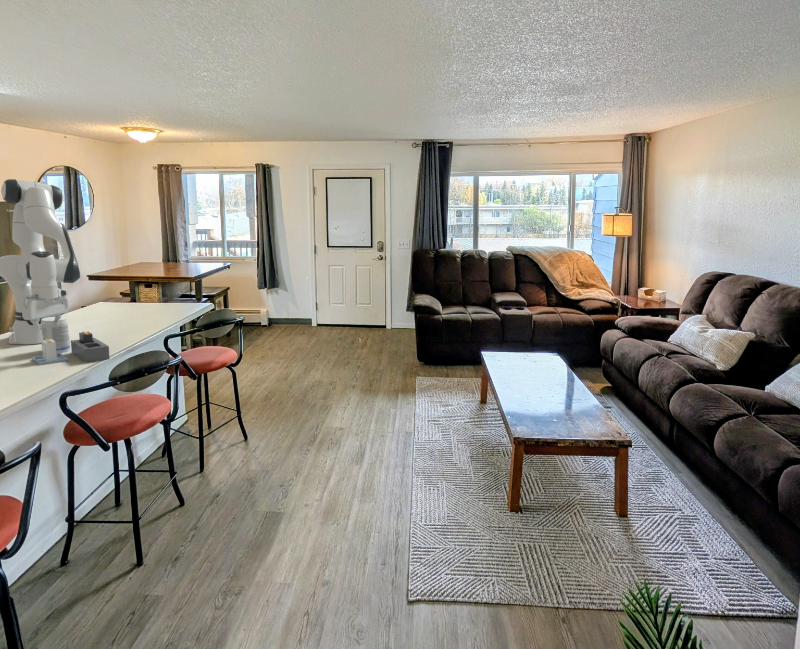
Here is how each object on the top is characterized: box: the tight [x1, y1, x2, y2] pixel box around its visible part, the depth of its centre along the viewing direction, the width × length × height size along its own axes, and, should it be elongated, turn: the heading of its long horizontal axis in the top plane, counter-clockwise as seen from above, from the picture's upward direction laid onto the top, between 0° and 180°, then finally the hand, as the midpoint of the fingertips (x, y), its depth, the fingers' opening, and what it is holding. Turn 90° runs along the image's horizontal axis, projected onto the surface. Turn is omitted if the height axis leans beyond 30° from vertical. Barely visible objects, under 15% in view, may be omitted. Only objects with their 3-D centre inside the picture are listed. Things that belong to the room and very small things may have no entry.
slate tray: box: [31, 353, 69, 366], centre depth 215 cm, size 10×10×2 cm
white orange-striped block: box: [41, 339, 58, 361], centre depth 215 cm, size 5×4×8 cm
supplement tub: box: [41, 316, 71, 354], centre depth 228 cm, size 10×10×15 cm
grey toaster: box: [70, 331, 110, 363], centre depth 223 cm, size 18×9×10 cm, turn 46°
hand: (47, 327), depth 212 cm, fingers open, 8 cm apart
